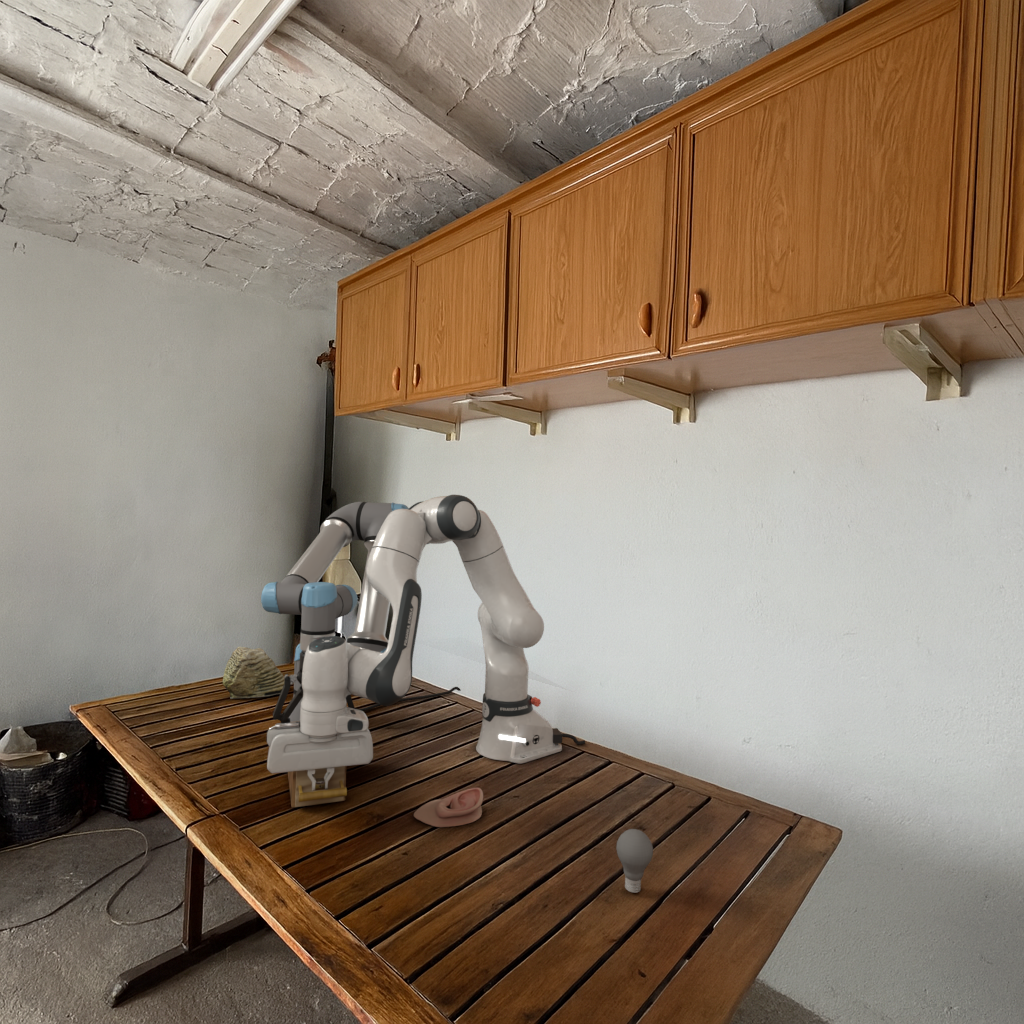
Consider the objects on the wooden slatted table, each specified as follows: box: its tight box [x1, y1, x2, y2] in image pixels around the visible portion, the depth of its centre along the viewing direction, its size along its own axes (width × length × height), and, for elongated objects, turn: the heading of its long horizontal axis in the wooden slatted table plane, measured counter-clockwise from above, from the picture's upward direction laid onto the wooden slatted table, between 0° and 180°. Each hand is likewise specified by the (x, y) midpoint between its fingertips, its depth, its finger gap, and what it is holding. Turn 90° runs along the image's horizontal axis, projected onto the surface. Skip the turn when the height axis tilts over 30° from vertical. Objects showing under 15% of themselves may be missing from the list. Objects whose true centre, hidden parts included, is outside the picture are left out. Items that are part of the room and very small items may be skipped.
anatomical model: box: [413, 787, 484, 828], centre depth 129 cm, size 13×4×12 cm
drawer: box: [294, 766, 348, 808], centre depth 135 cm, size 24×9×9 cm, turn 22°
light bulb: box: [615, 828, 654, 894], centre depth 106 cm, size 6×6×10 cm
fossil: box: [222, 646, 285, 699], centre depth 198 cm, size 9×18×15 cm, turn 132°
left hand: (313, 746), depth 145 cm, fingers closed on cabinet, 11 cm apart
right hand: (319, 788), depth 126 cm, fingers closed
